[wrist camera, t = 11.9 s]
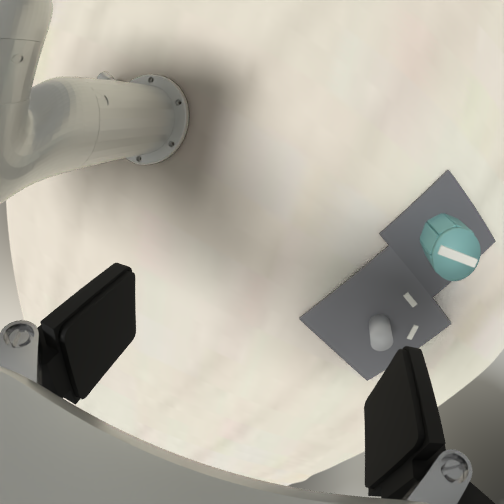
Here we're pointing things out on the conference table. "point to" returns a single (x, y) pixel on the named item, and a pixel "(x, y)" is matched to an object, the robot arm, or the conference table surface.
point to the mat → (416, 215)
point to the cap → (450, 247)
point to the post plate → (372, 300)
